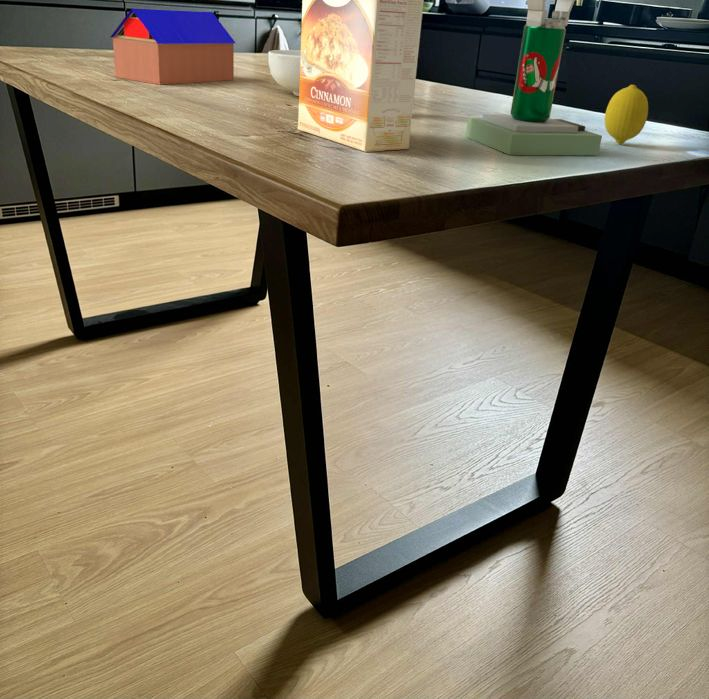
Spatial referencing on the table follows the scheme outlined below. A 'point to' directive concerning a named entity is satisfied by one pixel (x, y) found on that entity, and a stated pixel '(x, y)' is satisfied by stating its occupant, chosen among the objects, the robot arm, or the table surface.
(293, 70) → the cereal bowl
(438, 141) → the table surface
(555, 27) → the soda can
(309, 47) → the coffeecake box
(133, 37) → the house
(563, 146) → the scale
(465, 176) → the table surface
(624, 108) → the lemon
